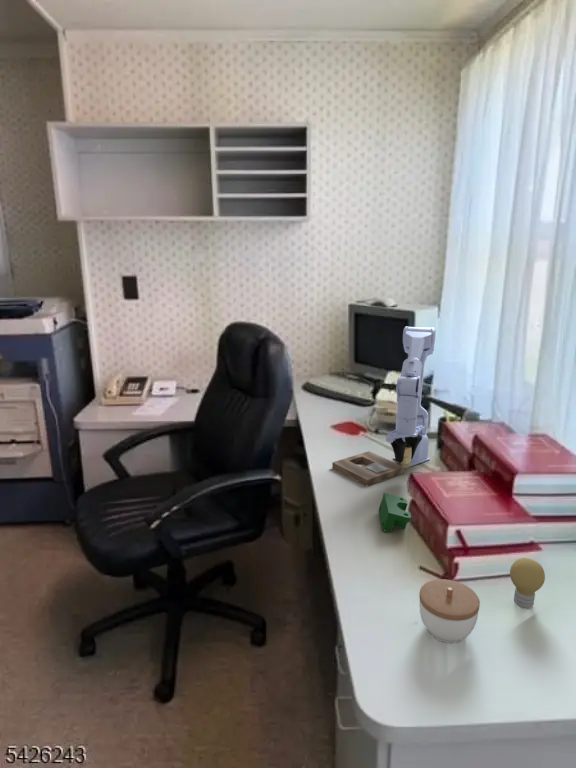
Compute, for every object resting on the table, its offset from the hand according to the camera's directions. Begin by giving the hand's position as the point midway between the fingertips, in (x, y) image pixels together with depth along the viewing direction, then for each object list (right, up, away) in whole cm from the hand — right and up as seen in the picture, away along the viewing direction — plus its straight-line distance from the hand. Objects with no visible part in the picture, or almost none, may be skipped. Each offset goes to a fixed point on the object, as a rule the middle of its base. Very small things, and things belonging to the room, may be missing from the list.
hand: (404, 459), depth 165 cm
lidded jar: (-5, -24, -61) cm, 66 cm away
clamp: (-7, -14, -22) cm, 27 cm away
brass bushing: (0, -2, 0) cm, 2 cm away
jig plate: (-10, -5, +10) cm, 14 cm away
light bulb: (+13, -22, -53) cm, 59 cm away
